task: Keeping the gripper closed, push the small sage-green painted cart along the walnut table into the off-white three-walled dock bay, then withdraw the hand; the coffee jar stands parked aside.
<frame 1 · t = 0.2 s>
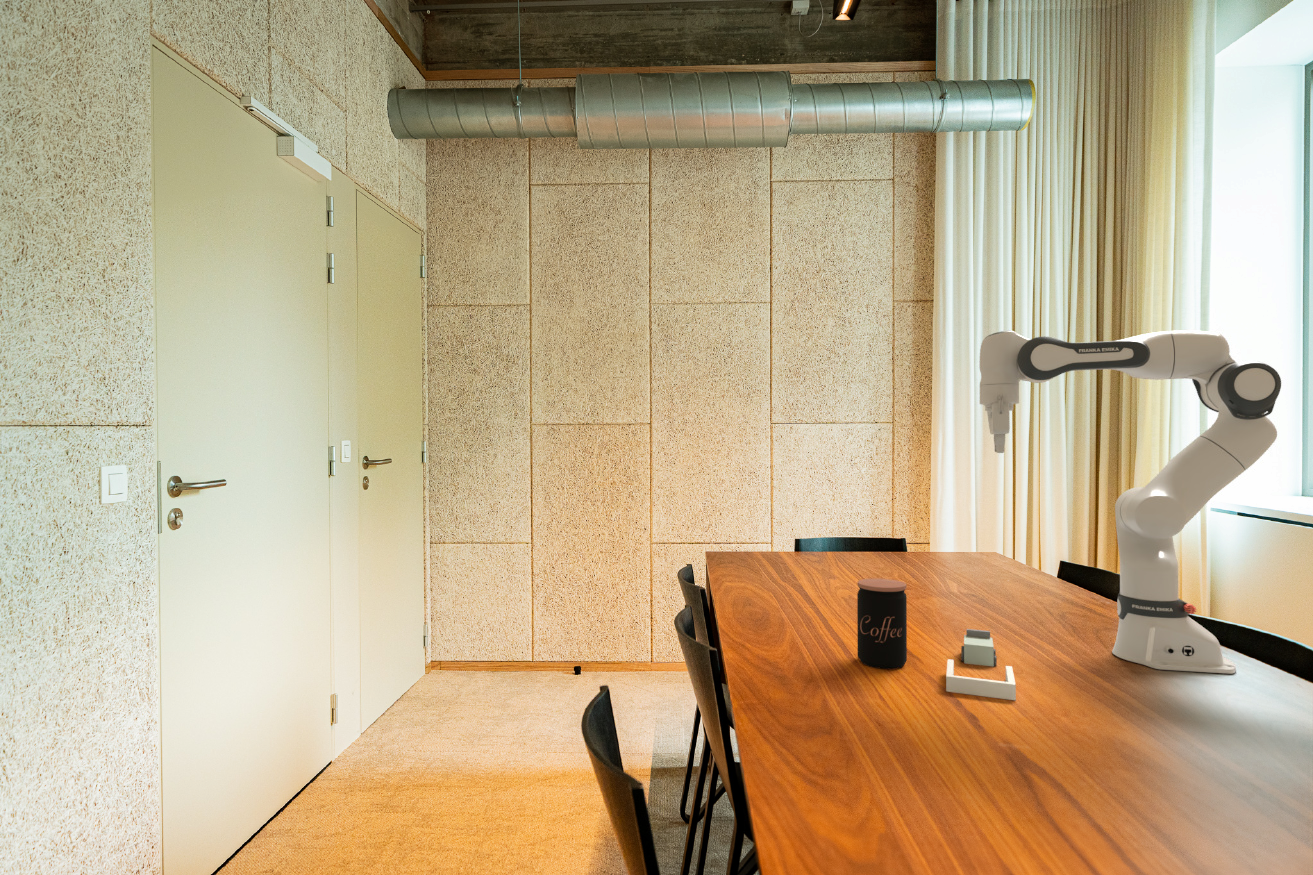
hand: (999, 452, 175), 47 cm above the table, fingers open, 8 cm apart
dock bay: (979, 685, 144), on the table
coffee jar: (882, 663, 159), on the table
sage cart: (978, 660, 161), on the table
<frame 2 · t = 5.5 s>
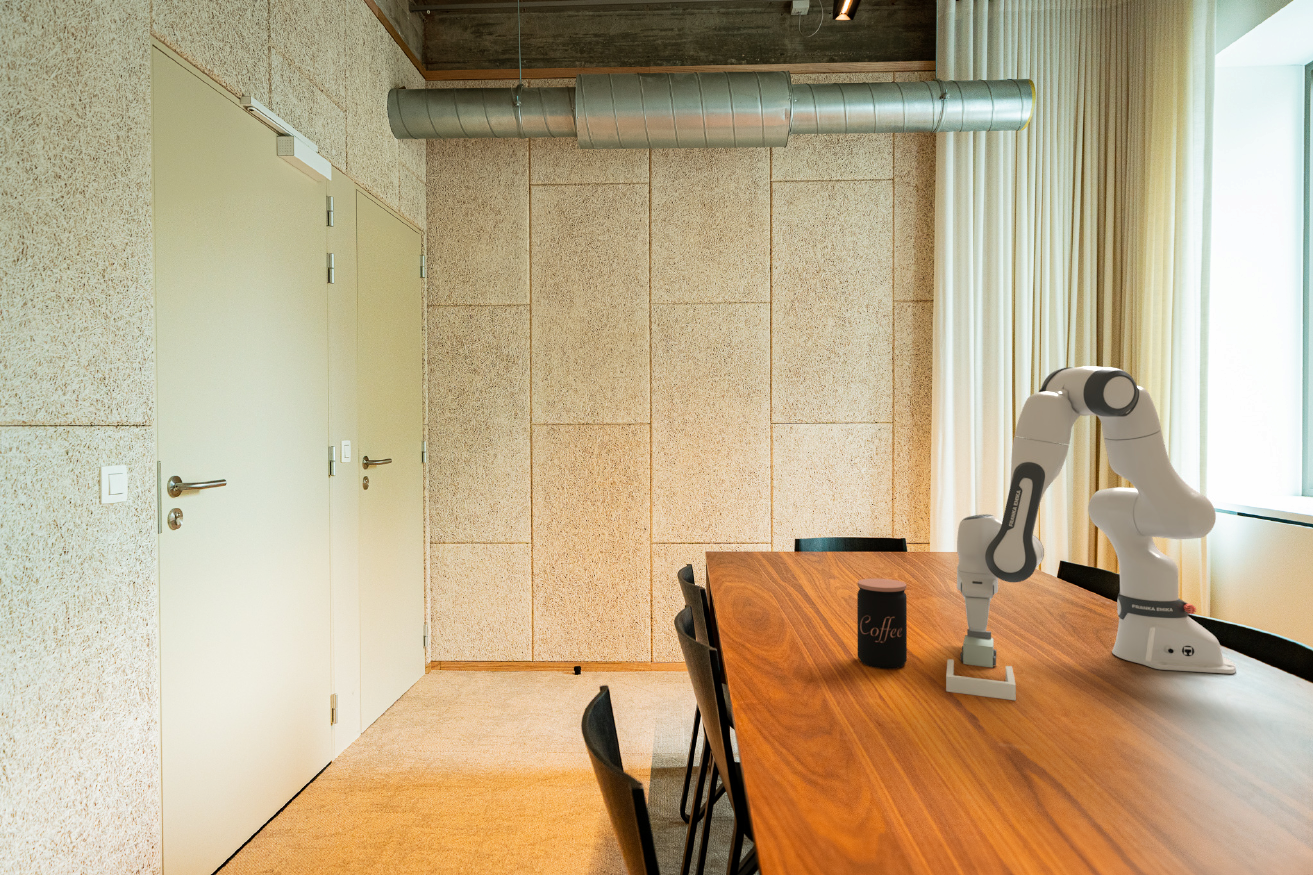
hand: (977, 641, 166), 3 cm above the table, fingers closed
sage cart: (978, 660, 160), on the table, touching gripper
everything else where it was.
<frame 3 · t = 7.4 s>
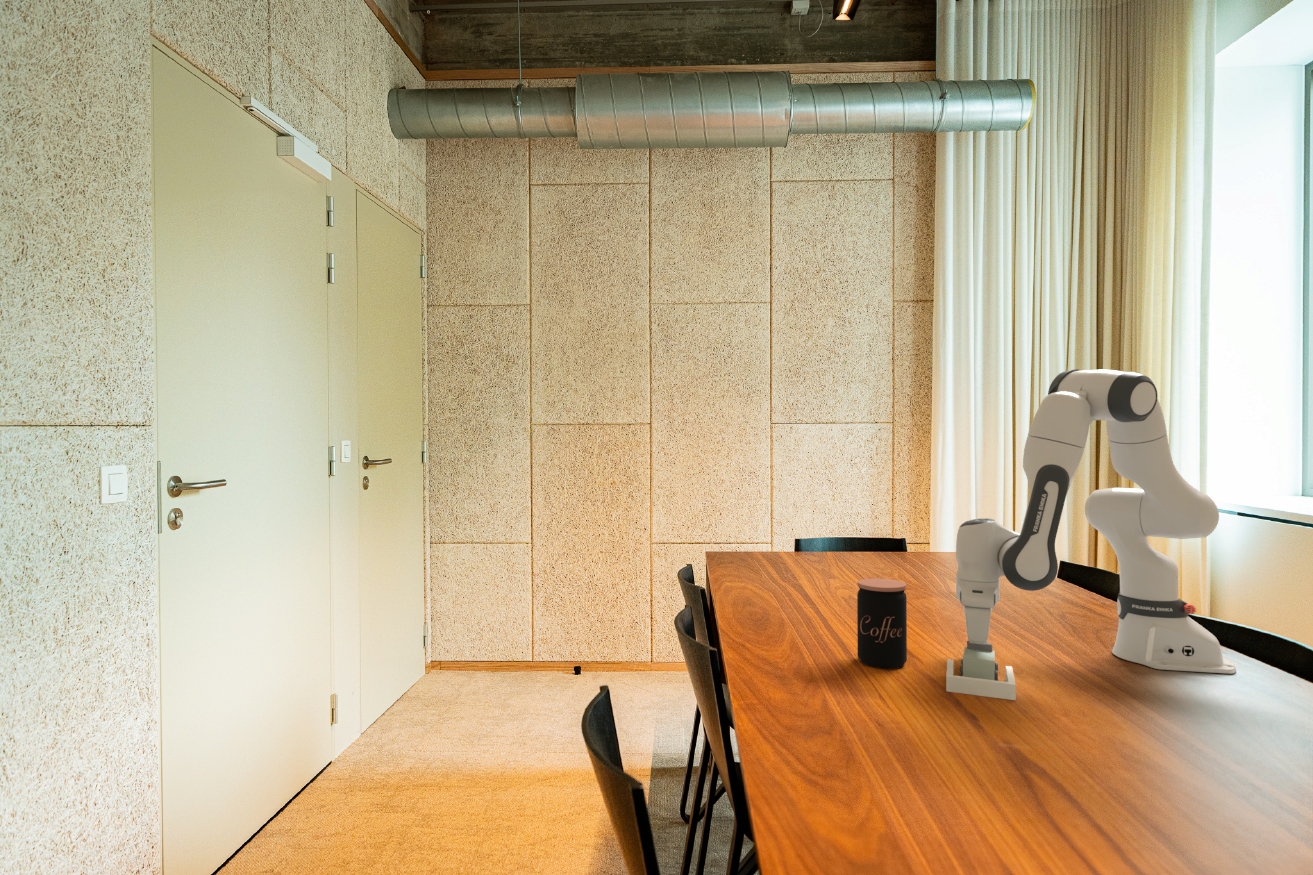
hand: (977, 654, 156), 3 cm above the table, fingers closed
sage cart: (979, 674, 151), on the table, touching gripper
everything else where it was.
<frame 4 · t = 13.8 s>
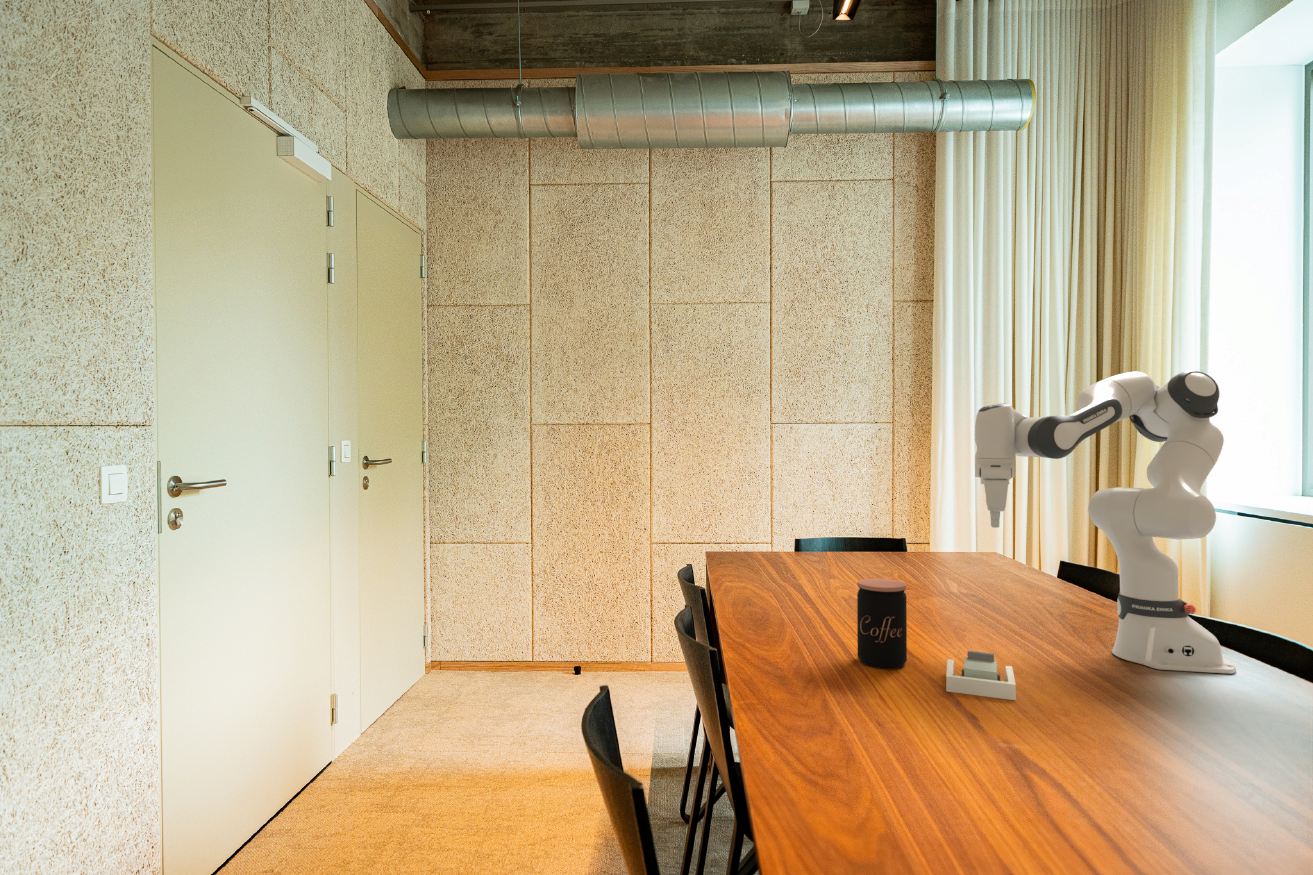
hand: (995, 526, 172), 29 cm above the table, fingers closed
sage cart: (980, 686, 144), on the table
everything else where it was.
at the end: sage cart inside the target area on the dock bay (0.2 cm from its centre), point 0.0 cm above the dock bay's base; sage cart tilted 0°; sage cart touching table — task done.
